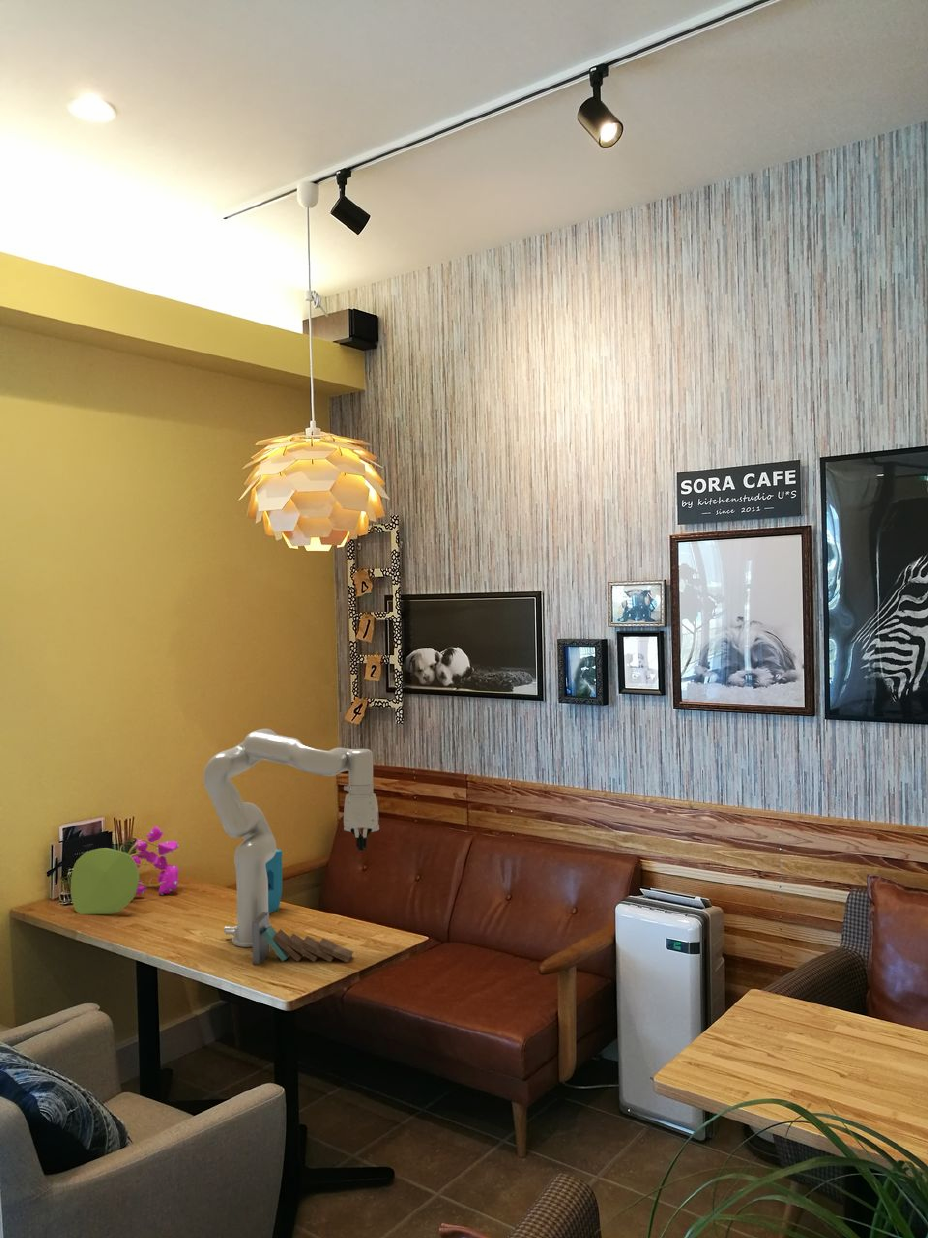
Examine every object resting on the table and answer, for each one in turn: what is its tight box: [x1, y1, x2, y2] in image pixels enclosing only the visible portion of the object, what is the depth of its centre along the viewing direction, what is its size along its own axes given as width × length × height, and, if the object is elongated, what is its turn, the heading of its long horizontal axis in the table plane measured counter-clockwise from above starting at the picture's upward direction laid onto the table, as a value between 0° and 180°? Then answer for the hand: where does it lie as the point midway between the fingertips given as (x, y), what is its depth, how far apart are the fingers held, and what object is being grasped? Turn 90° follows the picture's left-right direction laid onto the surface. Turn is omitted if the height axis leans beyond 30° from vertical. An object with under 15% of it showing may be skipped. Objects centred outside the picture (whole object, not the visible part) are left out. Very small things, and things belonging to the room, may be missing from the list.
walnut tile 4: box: [272, 928, 304, 962], centre depth 280 cm, size 2×5×10 cm
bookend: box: [252, 912, 271, 965], centre depth 280 cm, size 2×10×12 cm, turn 175°
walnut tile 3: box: [286, 933, 320, 963], centre depth 279 cm, size 2×5×10 cm
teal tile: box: [262, 925, 290, 962], centre depth 280 cm, size 2×5×10 cm
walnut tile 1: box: [317, 938, 354, 963], centre depth 279 cm, size 2×5×10 cm
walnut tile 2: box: [300, 935, 335, 963], centre depth 279 cm, size 2×5×10 cm
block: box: [265, 849, 283, 914], centre depth 326 cm, size 12×5×20 cm, turn 140°
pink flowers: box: [70, 826, 180, 915], centre depth 343 cm, size 30×28×35 cm
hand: (361, 849), depth 291 cm, fingers closed
